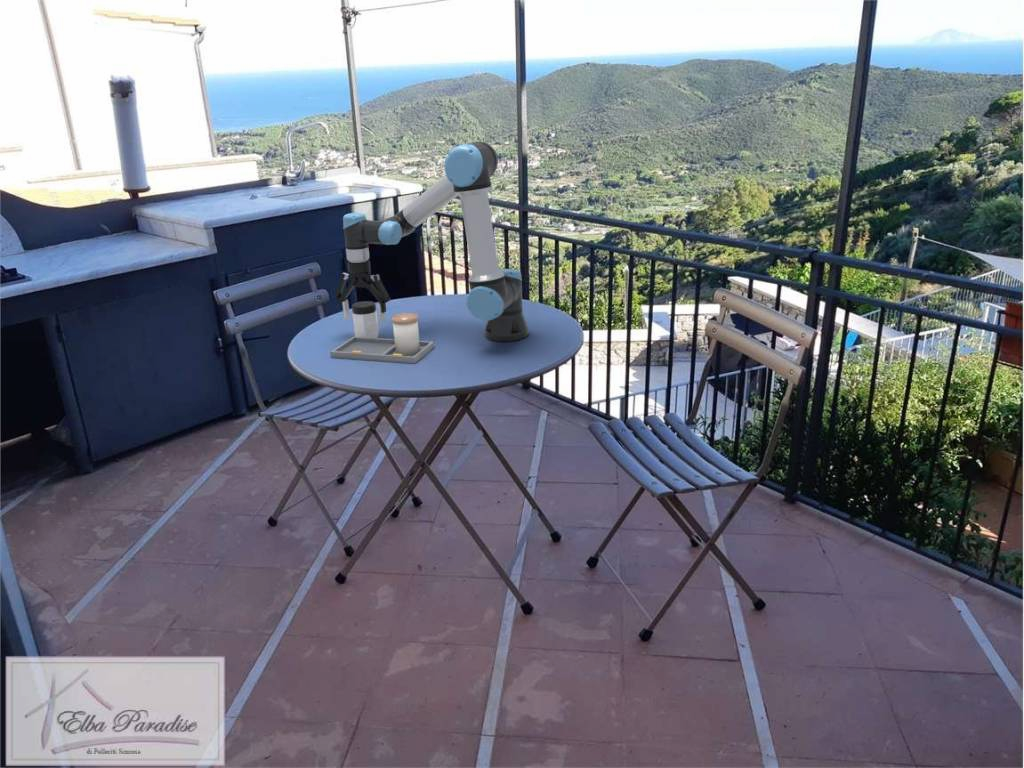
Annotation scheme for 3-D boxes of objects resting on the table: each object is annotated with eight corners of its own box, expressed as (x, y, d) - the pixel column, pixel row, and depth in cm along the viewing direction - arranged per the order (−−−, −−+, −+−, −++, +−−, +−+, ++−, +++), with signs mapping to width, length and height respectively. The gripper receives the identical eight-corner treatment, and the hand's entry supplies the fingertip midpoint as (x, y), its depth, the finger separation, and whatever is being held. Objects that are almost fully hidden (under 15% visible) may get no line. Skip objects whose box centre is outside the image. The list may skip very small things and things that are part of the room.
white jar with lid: (424, 349, 246) (421, 313, 242) (414, 357, 239) (411, 321, 235) (401, 347, 249) (398, 312, 244) (390, 355, 241) (387, 319, 237)
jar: (360, 342, 257) (356, 309, 253) (351, 336, 264) (346, 304, 259) (383, 337, 262) (380, 304, 257) (374, 331, 268) (370, 299, 264)
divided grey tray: (434, 347, 250) (433, 340, 249) (415, 363, 235) (414, 356, 234) (354, 342, 258) (353, 334, 257) (330, 357, 244) (329, 350, 243)
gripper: (396, 259, 252) (401, 319, 260) (331, 256, 259) (338, 314, 267) (387, 264, 246) (392, 325, 254) (320, 260, 253) (327, 320, 261)
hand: (364, 320), depth 261 cm, fingers open, 13 cm apart
